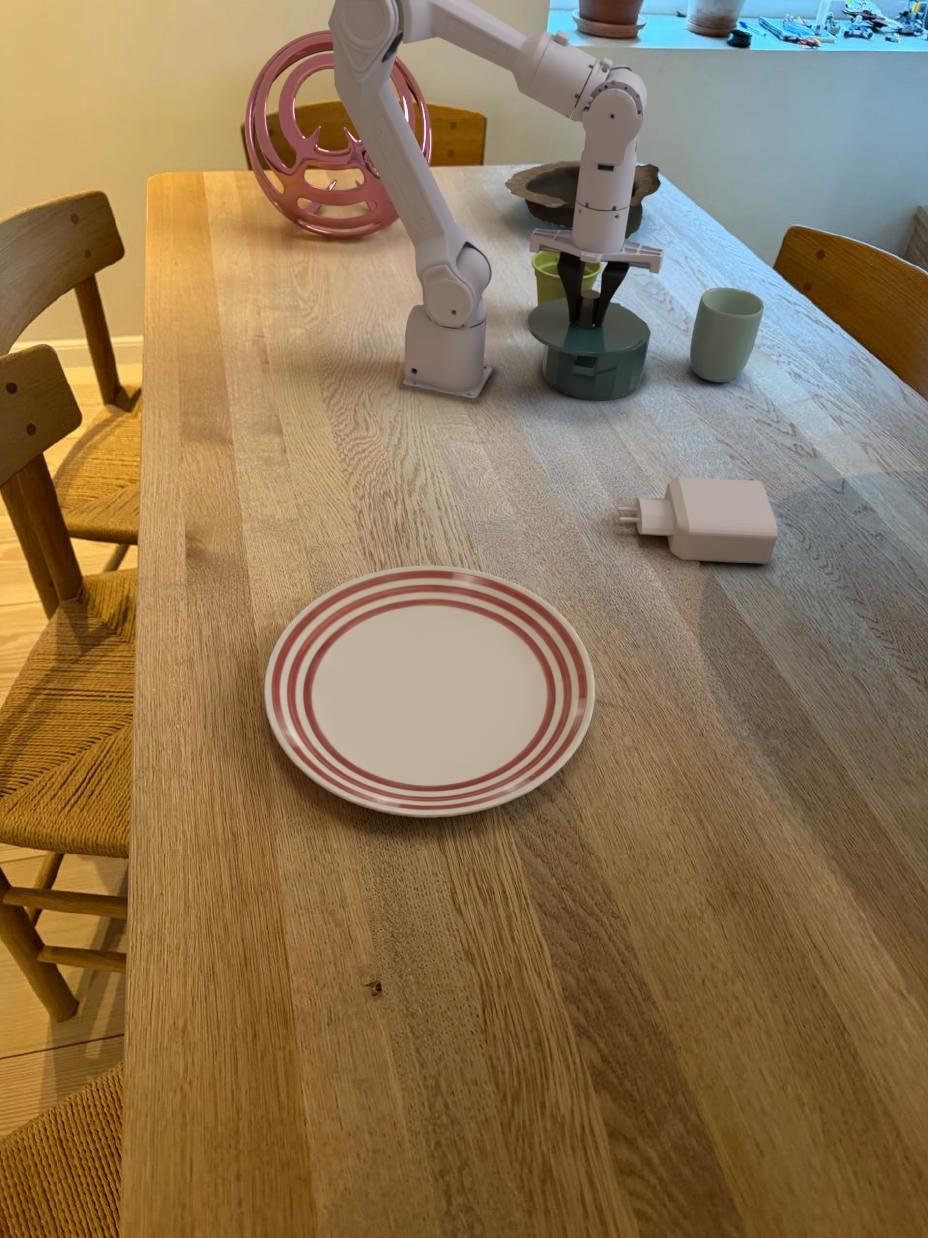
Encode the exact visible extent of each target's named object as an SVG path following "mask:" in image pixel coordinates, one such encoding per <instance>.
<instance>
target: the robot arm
mask: <svg viewBox="0 0 928 1238" xmlns="http://www.w3.org/2000/svg"><path fill="white" fill-rule="evenodd" d="M327 26H328V27H329V30H330V31H331V33H332V36H333V51H332V52H333V55H334V69H333V77H334V78H333V79H334V80H333V81H334V82H333V83H334V88H335V90H336V93H337V95H338V97H339V99H340V101H341V104H342V105H343V108H344V109H345V111H346V114H347V115H348V118H349V120H350V121H351V123H352V125H353V127H354V130H355V131H356V133H357V135H358V138H359V140H360V139H361V141H362V143H363V145H364V147H365V149H366V151H367V153H368V155H369V157H370V161H371V164H372V166H373V168H374V169H375V170H376V171H377V173H378V175H379V177H380V179H381V181H382V183H383V185H384V187H385V189H386V191H387V193H388V195H389V197H390V199H391V201H392V203H393V205H394V207H395V209H396V211H397V213H398V215H399V217H400V218H399V219H400V221H401V223H402V225H403V227H404V229H405V231H406V233H407V235H408V237H409V239H410V241H411V243H412V245H413V248H414V256H415V258H414V259H415V261H414V262H415V274H416V277H417V279H418V281H419V283H420V287H421V288H422V303H423V304H415V305H413V306H412V308H411V310H410V312H409V315H408V316H407V321H406V325H405V332H404V380H403V381H402V384H403V385H407V386H410V387H411V386H412V387H416V388H422V389H426V390H431V391H435V392H439V393H440V392H441V393H445V394H450V395H456V396H461V397H464V398H465V397H466V398H470V399H476V398H477V397H478V396H479V395H480V393H481V392H482V390H483V389H484V387H485V385H486V383H487V382H488V380H489V378H490V376H491V375H492V373H493V367H491V366H488V365H485V351H486V337H487V336H486V335H487V321H488V308H487V306H486V303H485V301H484V298H483V295H484V292H485V290H486V289H487V288H488V286H489V285H490V283H491V281H492V277H493V266H492V262H491V260H490V258H489V256H488V255H487V253H486V252H485V251H484V250H483V249H482V248H480V247H479V246H478V245H476V243H475V242H474V241H473V239H472V237H471V236H470V233H469V231H468V230H467V229H466V227H464V226H462V225H460V224H458V223H457V222H456V221H455V218H454V217H453V215H452V212H451V211H450V208H449V206H448V203H447V202H446V200H445V198H444V196H443V194H442V192H441V189H440V187H439V185H438V183H437V181H436V179H435V177H434V174H433V172H432V170H431V168H430V167H429V166H428V164H427V162H426V159H425V157H424V155H423V153H422V151H421V146H420V145H419V143H418V140H417V138H416V136H415V135H414V134H413V132H412V130H411V127H410V125H409V123H408V121H407V119H406V117H405V115H404V113H403V110H402V106H401V103H400V101H399V100H398V98H397V96H396V94H395V91H394V89H393V87H392V85H391V83H390V74H391V71H392V68H393V64H394V61H395V58H396V56H397V55H398V52H399V47H400V45H401V44H403V45H406V44H407V45H408V44H412V43H416V42H420V41H425V40H430V39H436V38H439V39H441V40H443V41H446V42H448V43H450V44H452V45H455V46H456V47H458V48H459V49H463V50H465V51H467V52H469V53H471V54H473V55H475V56H477V57H479V58H481V59H484V60H486V61H487V62H490V63H492V64H493V65H496V66H499V67H500V68H503V69H505V70H507V71H509V72H511V73H512V75H513V78H514V80H515V83H516V86H517V89H518V91H519V93H521V94H523V95H525V96H527V97H528V98H530V99H532V100H534V101H536V102H538V103H539V104H541V105H543V106H545V107H547V108H549V109H551V110H552V111H554V112H557V114H560V115H562V116H563V117H565V118H566V119H567V118H568V119H570V120H571V121H573V122H578V123H582V127H583V130H584V132H585V137H584V138H585V139H584V147H583V150H582V152H581V155H580V161H581V162H580V171H579V179H578V188H577V196H576V203H575V212H574V220H573V228H571V230H567V229H565V230H563V229H543V228H534V230H533V231H532V233H531V234H530V242H529V252H530V253H535V254H537V253H539V252H541V251H543V252H549V253H554V254H560V258H559V262H558V264H557V272H558V274H559V276H560V279H561V281H562V284H563V287H564V290H565V293H566V298H567V303H568V309H569V322H572V323H575V322H576V318H577V310H578V302H579V295H580V292H581V288H582V281H583V275H584V269H585V264H586V262H590V263H598V262H599V261H601V262H602V263H606V265H605V266H604V268H603V269H602V271H601V276H600V277H601V279H600V291H599V293H600V300H599V306H598V310H597V315H596V319H595V327H599V328H600V327H601V326H602V324H603V322H604V318H605V314H606V311H607V308H608V305H609V303H610V302H612V299H613V298H614V295H615V294H616V293H617V291H618V289H619V287H620V286H621V285H622V283H623V282H624V281H625V279H626V276H627V274H628V272H629V270H630V268H637V269H642V270H648V272H649V273H651V274H656V275H658V274H660V271H661V269H662V266H663V260H664V255H665V249H662V248H656V247H653V246H649V245H646V244H644V243H640V242H637V241H634V240H631V239H629V238H628V239H625V232H626V225H627V219H628V213H629V206H630V201H631V194H632V188H633V181H634V175H635V168H636V166H637V163H638V162H637V160H638V157H637V151H638V149H639V144H640V138H639V137H640V136H639V133H640V131H641V129H642V127H643V124H644V115H645V112H646V108H647V105H648V91H647V86H646V84H645V82H644V81H643V78H642V77H641V76H640V75H639V74H638V73H637V72H636V71H634V70H633V69H632V67H631V66H630V65H627V64H626V65H625V64H616V65H614V62H613V61H614V60H611V59H609V58H608V57H605V56H604V57H603V59H602V60H600V59H598V58H597V57H594V56H593V55H591V54H589V53H587V52H585V51H584V50H582V49H580V48H578V47H577V46H575V45H573V44H571V43H569V41H570V38H571V35H570V34H568V33H567V32H565V31H562V30H561V29H559V30H557V32H556V33H555V34H552V33H551V32H549V31H547V30H543V31H541V32H538V33H536V34H534V35H531V36H526V35H525V34H523V33H522V32H520V31H519V30H517V29H515V28H513V27H512V26H511V25H509V24H507V23H506V22H504V21H502V20H500V19H499V18H497V17H496V16H494V15H493V14H491V13H489V12H487V11H486V10H484V9H482V8H481V7H479V6H478V5H477V4H475V3H473V2H472V1H470V0H335V1H334V4H333V7H332V9H331V13H330V16H329V19H328V21H327Z"/></svg>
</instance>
